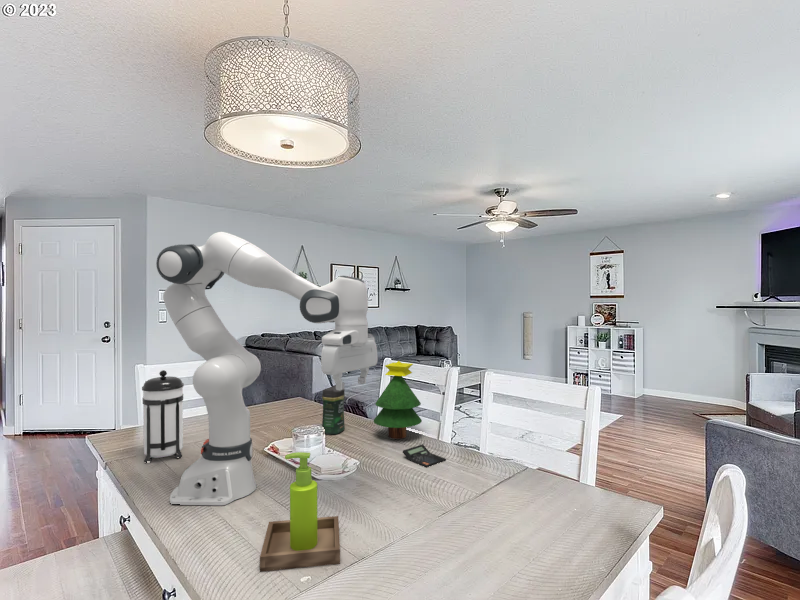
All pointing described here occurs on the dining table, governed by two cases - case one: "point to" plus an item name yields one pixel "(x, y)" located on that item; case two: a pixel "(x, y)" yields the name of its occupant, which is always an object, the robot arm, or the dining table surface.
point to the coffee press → (163, 416)
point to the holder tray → (284, 557)
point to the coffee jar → (333, 410)
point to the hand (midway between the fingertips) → (351, 386)
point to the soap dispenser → (303, 506)
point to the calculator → (422, 456)
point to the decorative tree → (397, 403)
